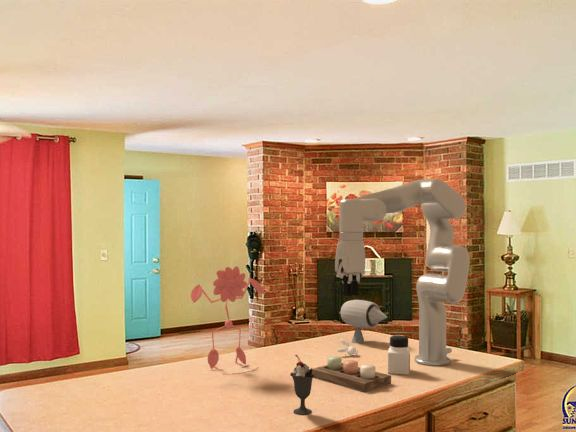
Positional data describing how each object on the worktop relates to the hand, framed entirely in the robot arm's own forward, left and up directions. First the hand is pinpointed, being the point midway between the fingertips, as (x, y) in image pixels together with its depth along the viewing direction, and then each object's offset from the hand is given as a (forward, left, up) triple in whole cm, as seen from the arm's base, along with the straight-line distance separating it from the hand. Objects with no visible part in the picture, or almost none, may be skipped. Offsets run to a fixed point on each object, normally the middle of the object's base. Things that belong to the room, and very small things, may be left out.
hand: (351, 295), depth 183 cm
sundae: (+32, +11, -27) cm, 44 cm away
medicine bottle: (-20, +4, -27) cm, 34 cm away
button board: (0, 0, -27) cm, 27 cm away
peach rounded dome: (0, 0, -25) cm, 25 cm away
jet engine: (-45, -33, -27) cm, 62 cm away
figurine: (+20, -37, -27) cm, 50 cm away
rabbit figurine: (-24, -23, -27) cm, 43 cm away
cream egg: (0, +7, -25) cm, 26 cm away
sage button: (0, -7, -25) cm, 26 cm away
